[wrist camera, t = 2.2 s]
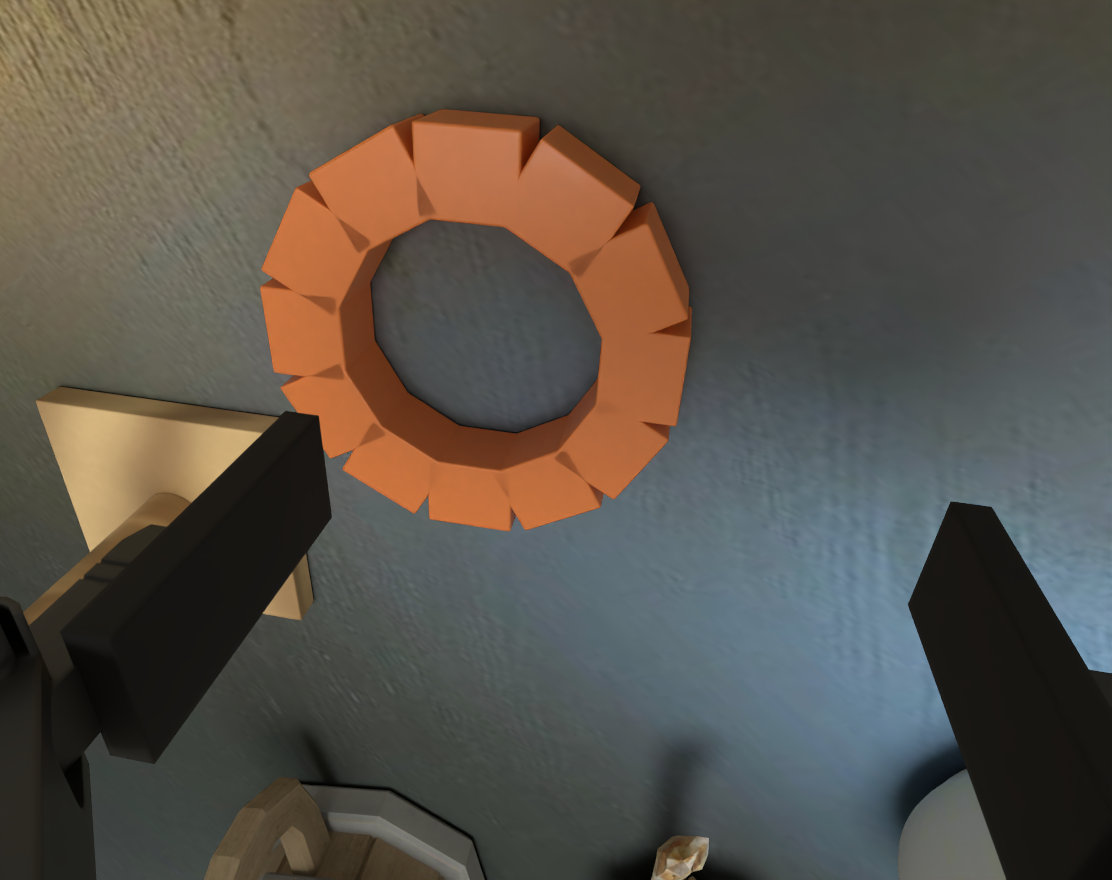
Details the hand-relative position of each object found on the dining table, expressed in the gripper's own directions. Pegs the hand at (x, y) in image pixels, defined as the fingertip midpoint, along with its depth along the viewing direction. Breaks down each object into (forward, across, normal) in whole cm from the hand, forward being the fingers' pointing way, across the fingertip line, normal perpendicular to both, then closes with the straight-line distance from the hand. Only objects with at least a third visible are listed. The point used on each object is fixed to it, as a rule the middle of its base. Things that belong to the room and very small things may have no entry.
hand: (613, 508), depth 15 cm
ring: (+8, -5, 0) cm, 10 cm away
